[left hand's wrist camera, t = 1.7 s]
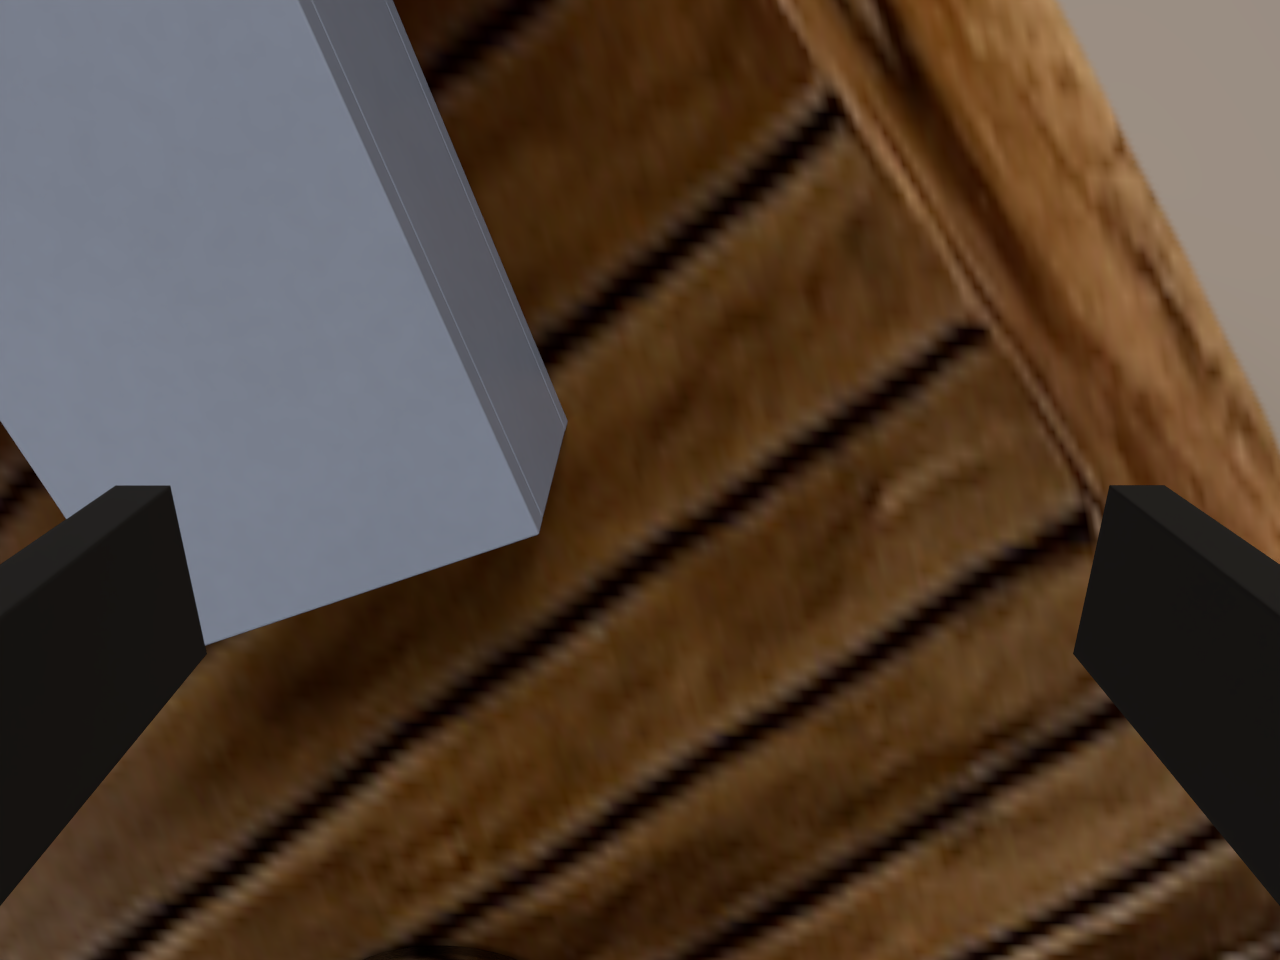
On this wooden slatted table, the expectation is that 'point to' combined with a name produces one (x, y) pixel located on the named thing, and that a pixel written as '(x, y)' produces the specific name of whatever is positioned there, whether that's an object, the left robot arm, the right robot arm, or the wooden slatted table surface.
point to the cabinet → (260, 297)
